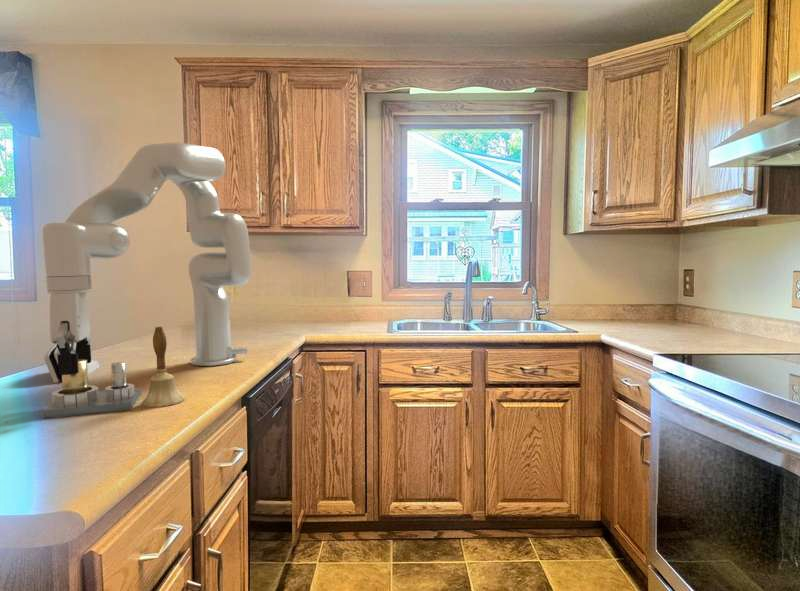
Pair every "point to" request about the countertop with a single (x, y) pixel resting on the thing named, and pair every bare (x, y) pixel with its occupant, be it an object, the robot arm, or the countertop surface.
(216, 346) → the robot arm
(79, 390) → the brass nipple
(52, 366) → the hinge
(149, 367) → the countertop surface
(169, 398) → the hand bell
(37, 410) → the countertop surface
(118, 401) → the plate
